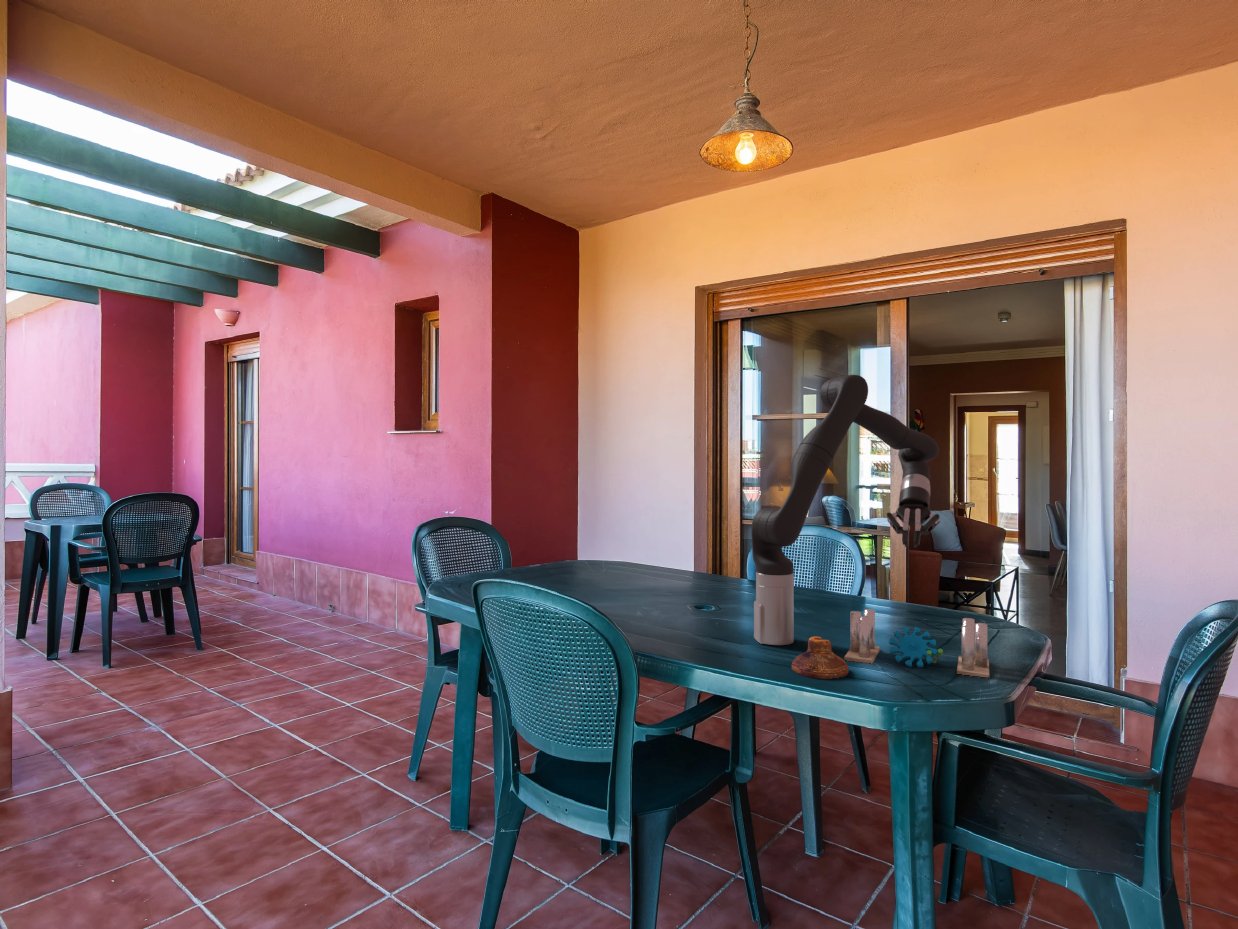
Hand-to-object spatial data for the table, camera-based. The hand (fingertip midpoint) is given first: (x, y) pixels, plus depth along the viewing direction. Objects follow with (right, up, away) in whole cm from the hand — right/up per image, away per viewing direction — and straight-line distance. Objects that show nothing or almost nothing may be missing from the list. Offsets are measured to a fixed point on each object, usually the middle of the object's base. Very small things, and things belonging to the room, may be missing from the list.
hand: (910, 544), depth 176 cm
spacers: (-7, -23, -20) cm, 31 cm away
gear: (-8, -24, -21) cm, 33 cm away
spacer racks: (-7, -24, -20) cm, 32 cm away
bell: (-31, -25, -26) cm, 47 cm away
